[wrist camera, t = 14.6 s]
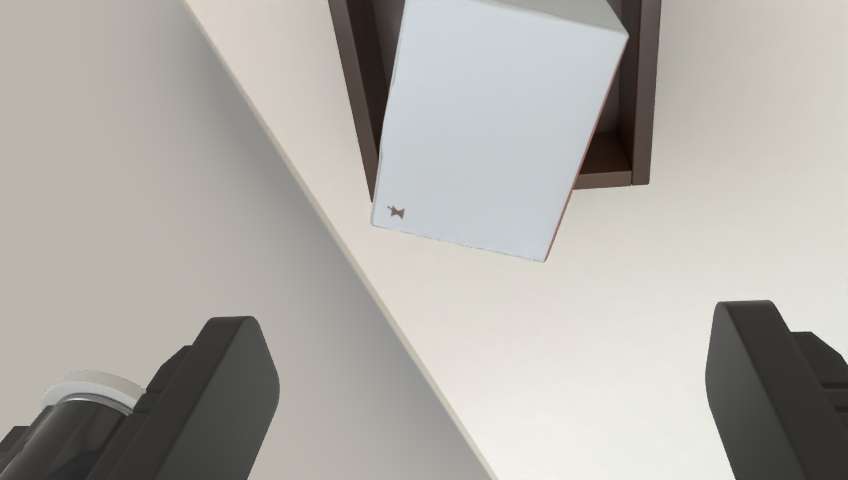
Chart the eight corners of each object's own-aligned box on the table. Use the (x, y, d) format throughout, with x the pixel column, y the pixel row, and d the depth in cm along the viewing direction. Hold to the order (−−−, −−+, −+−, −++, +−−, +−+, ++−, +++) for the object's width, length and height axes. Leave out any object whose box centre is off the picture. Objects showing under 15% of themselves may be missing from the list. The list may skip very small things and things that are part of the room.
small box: (533, 122, 31) (545, 270, 21) (414, 96, 31) (363, 230, 20) (585, -45, 27) (635, 32, 16) (445, -76, 27) (402, -21, 16)
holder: (389, 157, 34) (371, 203, 30) (339, -107, 27) (306, -98, 23) (630, 138, 32) (649, 185, 28) (643, -157, 25) (672, -156, 21)
